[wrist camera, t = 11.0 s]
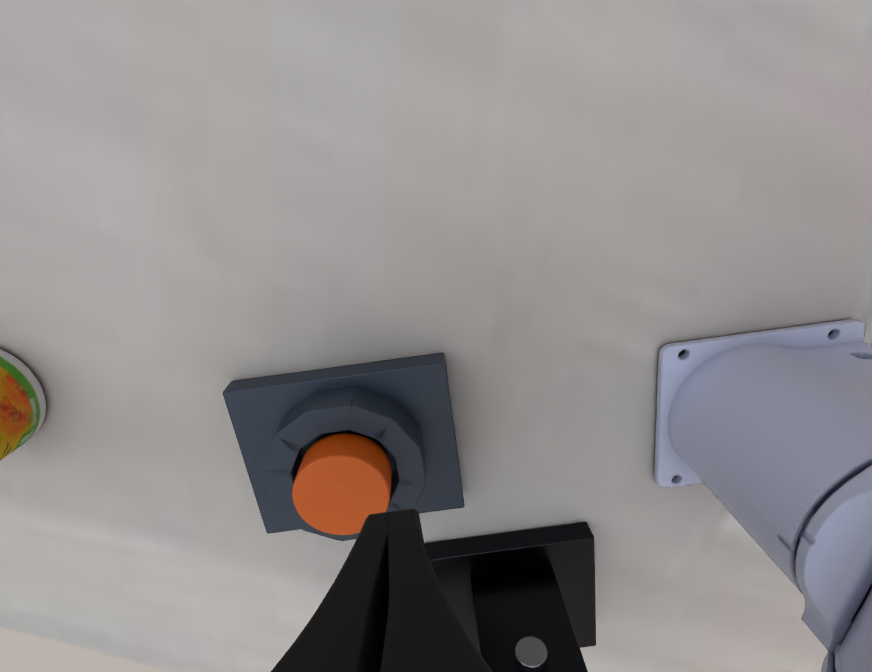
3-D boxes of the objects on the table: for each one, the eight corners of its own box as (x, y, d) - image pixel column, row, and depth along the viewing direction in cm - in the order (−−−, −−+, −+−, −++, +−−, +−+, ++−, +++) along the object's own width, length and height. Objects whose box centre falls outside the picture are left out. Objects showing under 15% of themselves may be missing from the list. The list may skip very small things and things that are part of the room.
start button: (383, 426, 21) (381, 449, 19) (398, 501, 22) (396, 529, 21) (291, 438, 21) (281, 463, 19) (312, 513, 22) (303, 541, 21)
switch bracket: (441, 646, 29) (450, 810, 22) (422, 543, 26) (426, 691, 19) (589, 627, 29) (648, 784, 22) (586, 521, 26) (653, 661, 19)
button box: (443, 351, 22) (448, 379, 20) (462, 492, 25) (468, 534, 22) (231, 380, 23) (205, 412, 20) (273, 517, 25) (255, 562, 22)
